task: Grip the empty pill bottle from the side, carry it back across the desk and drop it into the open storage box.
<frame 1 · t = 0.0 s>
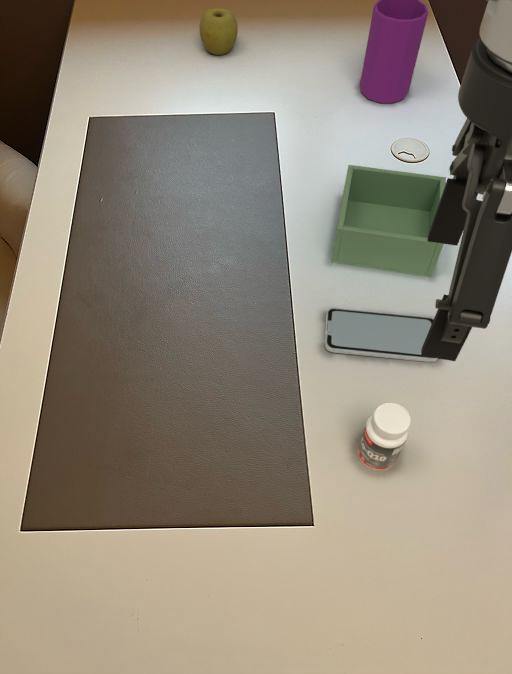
hand: (440, 294, 54), 26 cm above the table, tool pointing down, fingers open, 13 cm apart
mug: (385, 83, 120), on the table
open storage box: (384, 236, 96), on the table
apple: (218, 51, 127), on the table
pill bottle: (376, 454, 75), on the table
smartphone: (380, 337, 85), on the table
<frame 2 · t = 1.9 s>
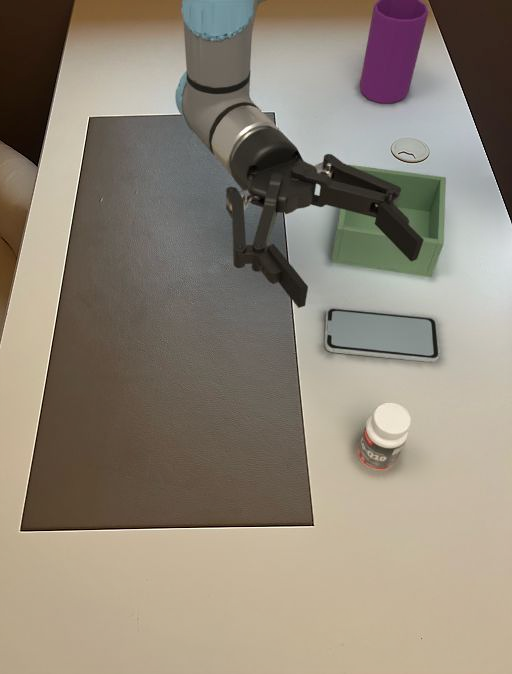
hand: (362, 273, 62), 22 cm above the table, tool horizontal, fingers open, 13 cm apart
nothing on the table moved.
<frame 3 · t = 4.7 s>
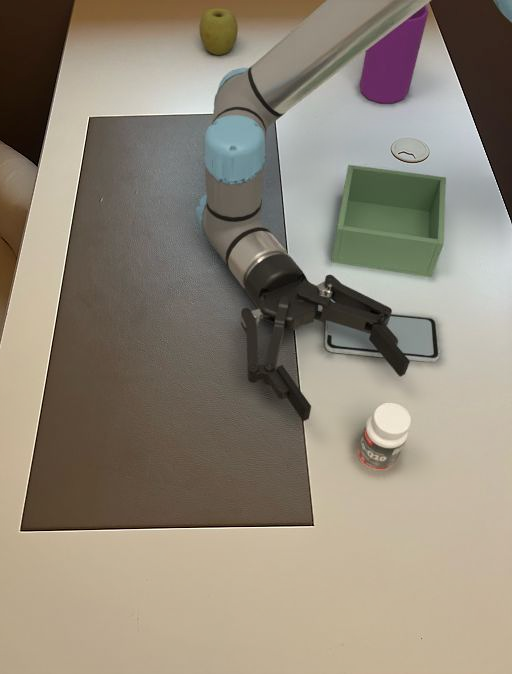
hand: (357, 391, 73), 6 cm above the table, tool horizontal, fingers open, 13 cm apart
nothing on the table moved.
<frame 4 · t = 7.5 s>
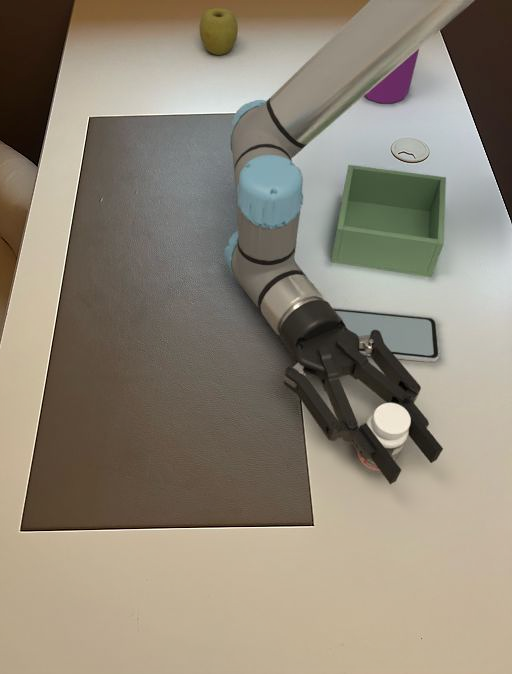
hand: (416, 466, 67), 6 cm above the table, tool horizontal, fingers closed on pill bottle, 5 cm apart
pill bottle: (376, 454, 75), on the table, touching gripper
everything else where it was.
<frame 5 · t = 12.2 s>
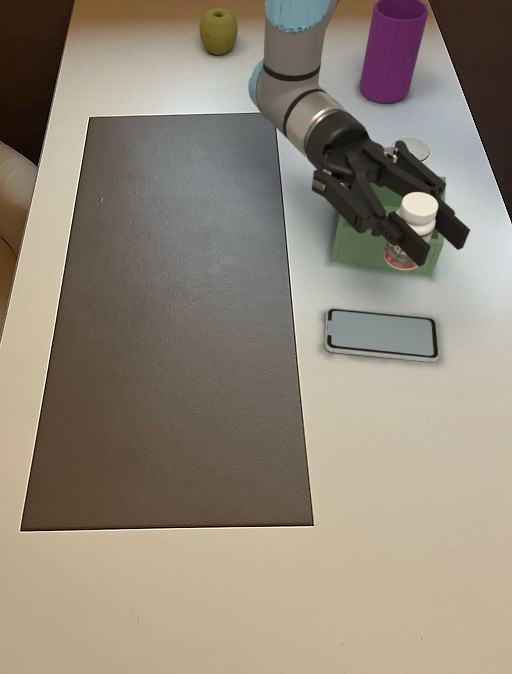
hand: (444, 248, 69), 18 cm above the table, tool horizontal, fingers closed on pill bottle, 5 cm apart
pill bottle: (402, 259, 77), point 12 cm above the table, touching gripper
everything else where it was.
when the fingers open (10 cm above the table, at t = 16.9 s): pill bottle drops 3 cm, resting on open storage box.
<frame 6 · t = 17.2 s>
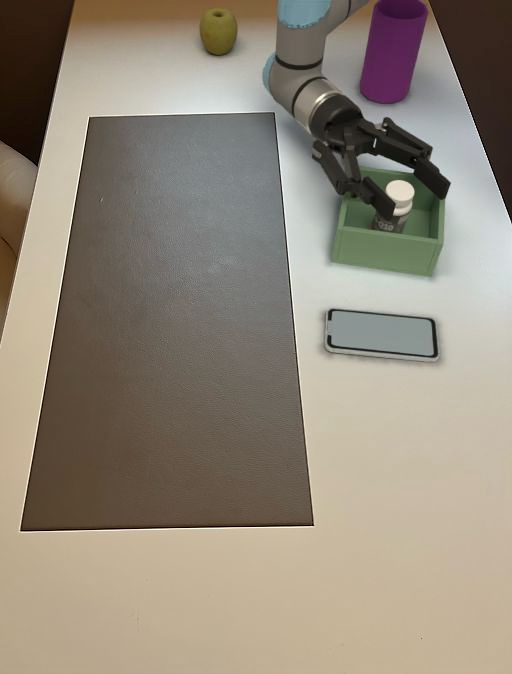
hand: (419, 201, 85), 10 cm above the table, tool horizontal, fingers open, 8 cm apart
pill bottle: (385, 231, 95), point 1 cm above the table, touching open storage box
everything else where it was.
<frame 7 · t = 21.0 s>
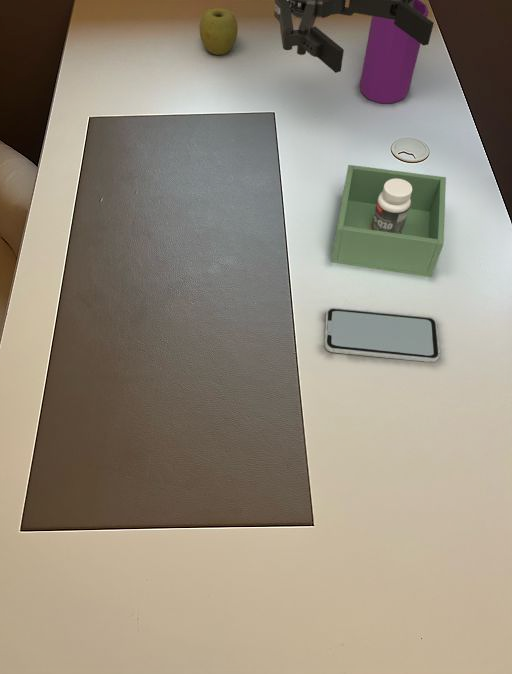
hand: (385, 47, 78), 25 cm above the table, tool horizontal, fingers open, 13 cm apart
nothing on the table moved.
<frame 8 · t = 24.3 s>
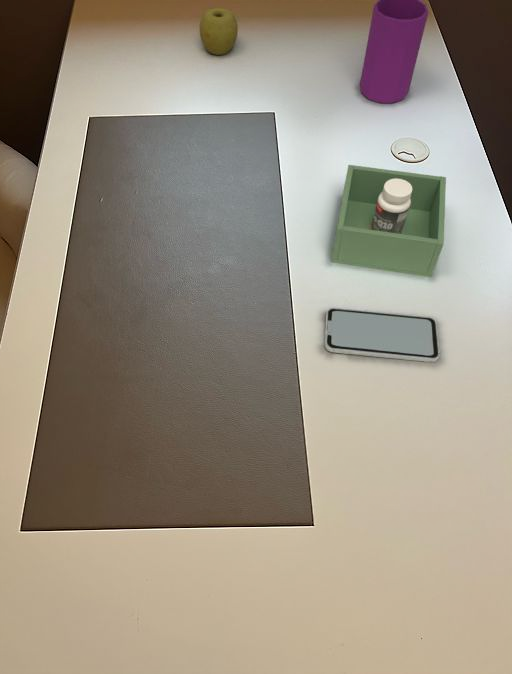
nothing on the table moved.
at the end: pill bottle inside the target area in the open storage box (0.3 cm from its centre), point 0.4 cm above the open storage box's base; the gripper is holding nothing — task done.
